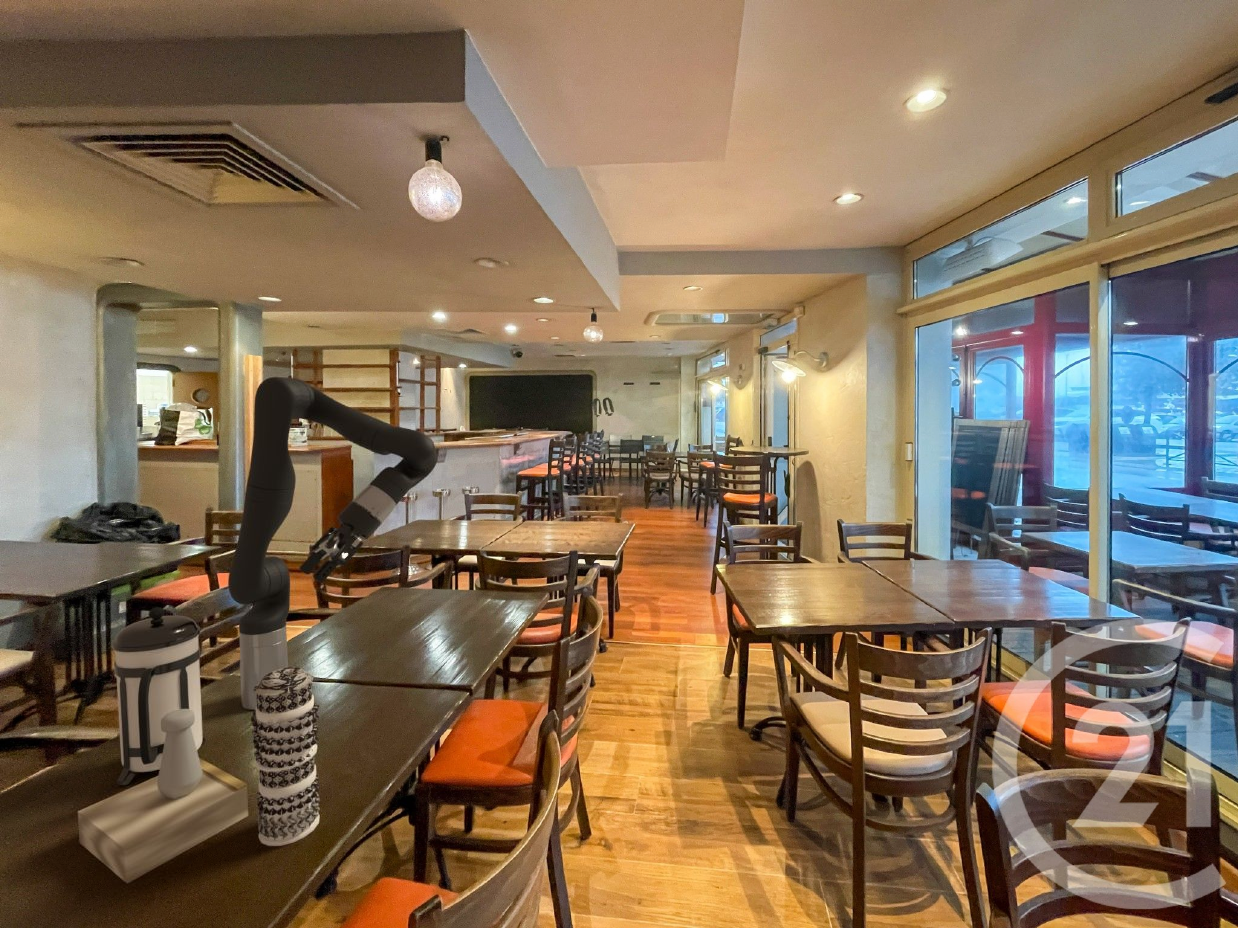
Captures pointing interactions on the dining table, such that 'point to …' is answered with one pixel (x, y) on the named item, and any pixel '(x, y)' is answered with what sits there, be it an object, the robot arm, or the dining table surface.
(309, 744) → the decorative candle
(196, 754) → the salt shaker
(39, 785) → the dining table surface
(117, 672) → the coffee press
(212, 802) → the wood block
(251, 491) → the robot arm
